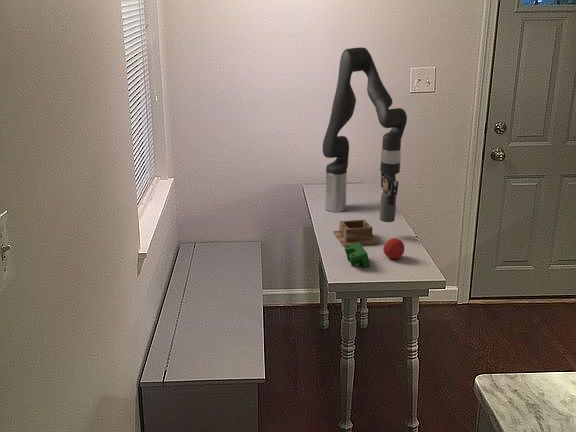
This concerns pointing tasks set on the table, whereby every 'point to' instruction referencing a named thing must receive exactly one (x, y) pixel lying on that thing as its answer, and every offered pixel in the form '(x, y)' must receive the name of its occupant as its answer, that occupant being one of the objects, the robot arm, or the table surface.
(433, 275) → the table surface
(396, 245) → the tomato
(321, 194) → the table surface
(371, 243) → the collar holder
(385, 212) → the bottle
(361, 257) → the clamp
